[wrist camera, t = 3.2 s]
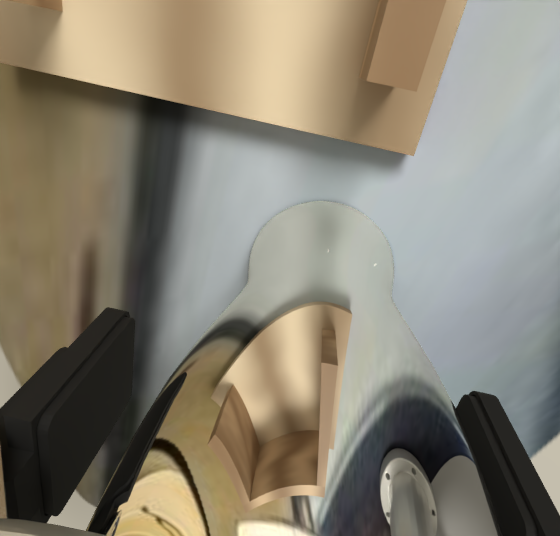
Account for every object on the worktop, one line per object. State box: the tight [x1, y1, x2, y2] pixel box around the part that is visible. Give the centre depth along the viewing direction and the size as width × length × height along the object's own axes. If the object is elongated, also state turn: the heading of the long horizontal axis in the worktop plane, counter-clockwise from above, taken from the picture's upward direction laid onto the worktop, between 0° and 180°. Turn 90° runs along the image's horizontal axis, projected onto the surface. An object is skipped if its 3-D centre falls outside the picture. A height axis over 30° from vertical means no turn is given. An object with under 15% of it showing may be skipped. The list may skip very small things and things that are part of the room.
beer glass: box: [86, 201, 504, 536], centre depth 11 cm, size 7×7×15 cm
